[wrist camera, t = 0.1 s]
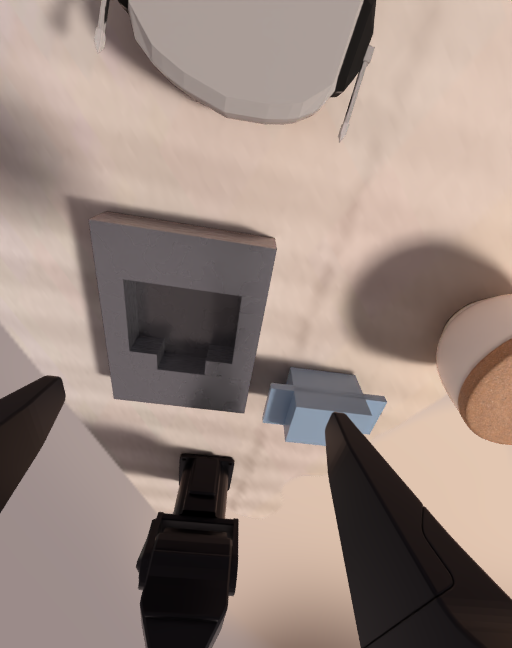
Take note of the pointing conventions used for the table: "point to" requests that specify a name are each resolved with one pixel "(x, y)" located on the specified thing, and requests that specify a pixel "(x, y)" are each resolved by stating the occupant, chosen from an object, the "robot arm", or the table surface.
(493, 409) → the lidded jar
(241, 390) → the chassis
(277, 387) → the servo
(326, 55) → the robot toy
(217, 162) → the table surface
